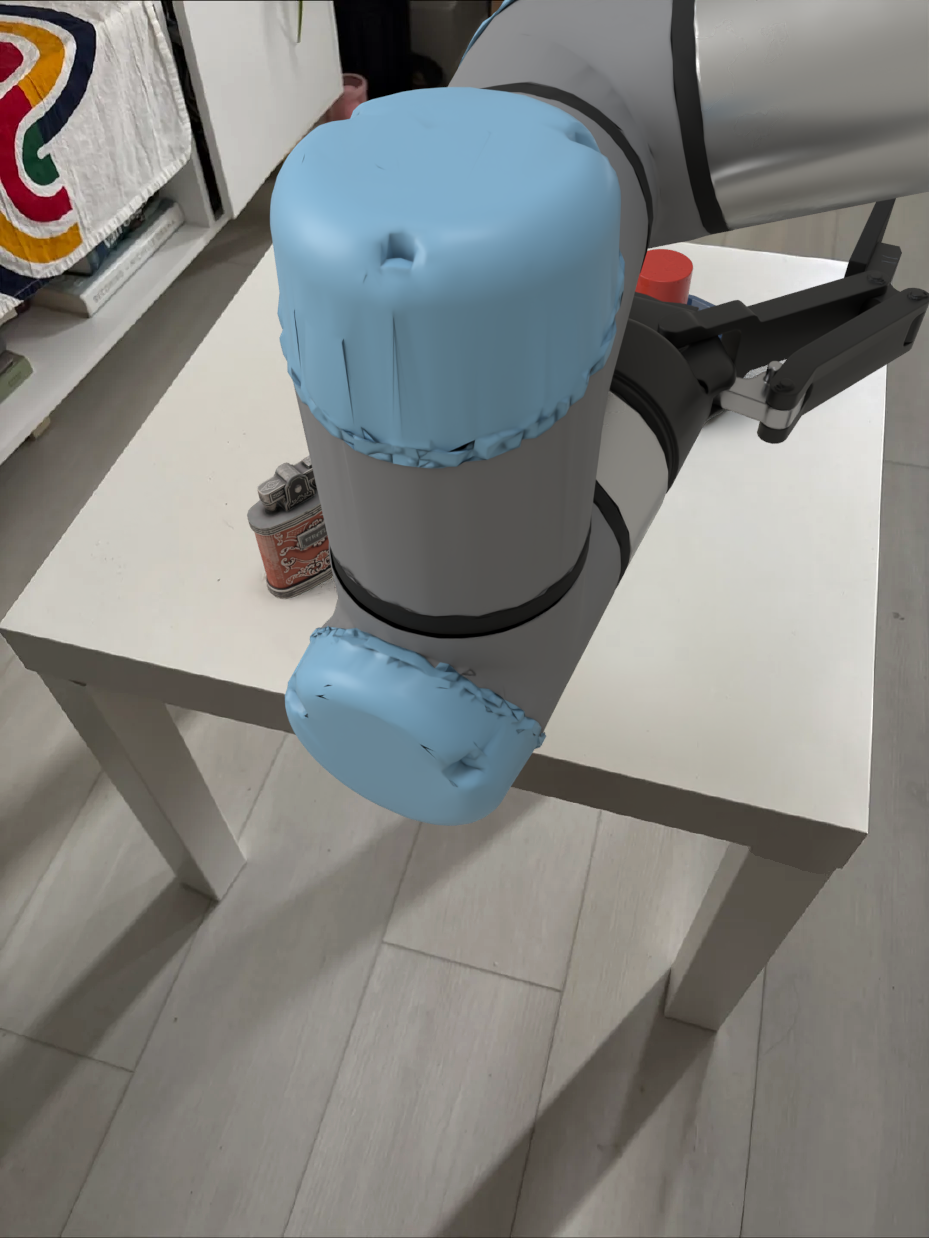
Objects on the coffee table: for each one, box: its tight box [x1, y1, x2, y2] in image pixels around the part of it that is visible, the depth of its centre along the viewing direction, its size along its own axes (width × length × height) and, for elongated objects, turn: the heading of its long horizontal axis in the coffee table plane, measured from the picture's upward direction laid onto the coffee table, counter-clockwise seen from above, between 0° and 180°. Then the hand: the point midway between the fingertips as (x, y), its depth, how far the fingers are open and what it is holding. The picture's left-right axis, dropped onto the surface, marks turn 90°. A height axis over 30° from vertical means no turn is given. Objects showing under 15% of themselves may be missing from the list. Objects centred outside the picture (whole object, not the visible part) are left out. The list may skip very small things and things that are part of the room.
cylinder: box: [635, 248, 694, 304], centre depth 82 cm, size 5×5×10 cm
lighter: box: [246, 454, 333, 600], centre depth 69 cm, size 8×3×10 cm, turn 131°
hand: (742, 190), depth 48 cm, fingers open, 13 cm apart
